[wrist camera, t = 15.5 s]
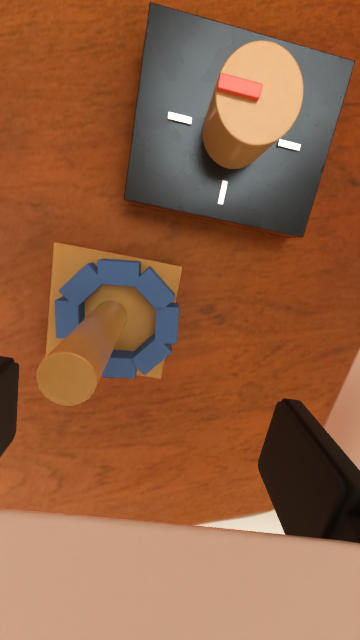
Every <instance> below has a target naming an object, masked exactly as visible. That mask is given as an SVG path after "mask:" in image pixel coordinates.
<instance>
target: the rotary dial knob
mask: <svg viewBox="0 0 360 640" xmlns="http://www.w3.org/2000/svg"><path fill="white" fill-rule="evenodd" d="M302 101H303V79H302V75H301V71H300V69H299V66H298V64H297V62H296V60H295V59H294V57H293V56H292V55H291V54H290V53H289V52H288V51H287V50H286V49H285V48H284V47H282V46H281V45H279V44H277V43H274V42H271V41H264V40H259V41H253V42H250V43H247V44H245V45H243V46H241V47H240V48H238V49H237V50H236V51H234V52H233V53H232V54H231V55H230V57H229V58H228V59H227V60H226V62H225V63H224V65H223V67H222V69H221V71H220V73H219V76H218V79H217V82H216V85H215V88H214V91H213V94H212V97H211V100H210V103H209V106H208V109H207V112H206V115H205V119H204V122H203V129H202V135H203V142H204V145H205V148H206V150H207V152H208V154H209V156H210V157H211V158H212V159H213V160H214V161H215V162H216V163H217V164H219V165H220V166H223V167H225V168H229V169H240V168H244V167H246V166H248V165H250V164H252V163H253V162H254V161H255V160H257V159H258V158H259V157H260V156H261V155H262V154H263V153H265V152H266V151H267V150H268V149H269V148H270V147H271V146H272V145H274V144H275V143H276V142H277V141H278V140H279V139H280V138H282V137H283V136H284V135H285V134H286V133H287V132H288V131H289V130H290V128H291V127H292V126H293V124H294V123H295V121H296V119H297V117H298V115H299V112H300V109H301V106H302Z"/></svg>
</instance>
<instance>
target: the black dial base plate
mask: <svg viewBox="0 0 360 640" xmlns="http://www.w3.org/2000/svg"><path fill="white" fill-rule="evenodd" d="M259 40H264V41H271V42H274V43H277V44H279V45H281V46H282V47H284V48H285V49H286V50H287V51H288V52H289V53H290V54H291V55H292V56H293V57H294V59H295V60H296V62H297V64H298V66H299V69H300V71H301V75H302V79H303V101H302V106H301V109H300V112H299V115H298V117H297V119H296V121H295V123H294V124H293V126H292V127H291V128H290V130H289V131H288V132H287V133H286V134H285V135H284V136H283V137H282V138H280V139H279V140H278V141H277V142H276V143H275V144H274V145H272V146H271V147H270V148H269V149H268V150H267V151H266V152H265V153H263V154H262V155H261V156H260V157H259V158H258V159H257V160H255V161H254V162H253V163H252V164H250V165H248V166H246V167H244V168H240V169H229V168H225V167H223V166H220V165H219V164H217V163H216V162H215V161H214V160H213V159H212V158H211V157H210V156H209V154H208V152H207V150H206V148H205V145H204V142H203V135H202V129H203V122H204V119H205V115H206V112H207V109H208V106H209V103H210V100H211V97H212V94H213V91H214V88H215V85H216V82H217V79H218V76H219V73H220V71H221V69H222V67H223V65H224V63H225V62H226V60H227V59H228V58H229V57H230V55H231V54H232V53H233V52H234V51H236V50H237V49H238V48H240V47H241V46H243V45H245V44H247V43H250V42H253V41H259ZM354 63H355V61H354V60H350V59H347V58H343V57H340V56H336V55H333V54H329V53H326V52H322V51H319V50H315V49H312V48H308V47H305V46H302V45H298V44H295V43H291V42H288V41H284V40H281V39H277V38H274V37H270V36H267V35H263V34H260V33H256V32H253V31H249V30H246V29H242V28H239V27H235V26H232V25H228V24H225V23H221V22H218V21H214V20H211V19H207V18H204V17H200V16H197V15H193V14H190V13H186V12H183V11H179V10H176V9H172V8H169V7H165V6H162V5H159V4H155V3H152V2H150V4H149V12H148V19H147V27H146V35H145V42H144V50H143V58H142V65H141V73H140V81H139V88H138V96H137V104H136V111H135V119H134V127H133V134H132V142H131V149H130V157H129V165H128V172H127V180H126V188H125V195H124V200H125V201H126V202H127V203H128V204H129V205H134V206H139V207H143V208H148V209H153V210H158V211H162V212H167V213H172V214H177V215H181V216H186V217H191V218H196V219H200V220H205V221H210V222H215V223H219V224H224V225H229V226H234V227H238V228H243V229H248V230H253V231H257V232H262V233H267V234H272V235H276V236H281V237H286V238H299V237H303V236H304V233H305V229H306V226H307V223H308V219H309V216H310V212H311V209H312V206H313V202H314V199H315V195H316V192H317V189H318V185H319V182H320V178H321V175H322V172H323V168H324V165H325V161H326V158H327V155H328V151H329V148H330V144H331V141H332V138H333V134H334V131H335V128H336V124H337V121H338V117H339V114H340V111H341V107H342V104H343V100H344V97H345V94H346V90H347V87H348V83H349V80H350V77H351V73H352V70H353V66H354Z"/></svg>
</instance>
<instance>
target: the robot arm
mask: <svg viewBox="0 0 360 640" xmlns="http://www.w3.org/2000/svg"><path fill="white" fill-rule="evenodd" d="M18 379H19V365H18V363H14V359H13V358H9V357H2V356H0V457H1V455H2V454H3V453H4V451H5V450H6V449H7V447H8V446H9V445H10V443H11V442H12V440H13V439H14V436H15V433H16V421H17V400H18ZM258 468H259V472H260V474H261V477H262V479H263V482H264V484H265V486H266V489H267V491H268V494H269V496H270V499H271V501H272V503H273V506H274V508H275V511H276V513H277V516H278V518H279V520H280V523H281V525H282V527H283V530H284V533H285V535H282V534H272V533H262V532H252V531H242V530H233V529H223V528H213V527H203V526H193V525H182V524H172V523H162V522H151V521H141V520H130V519H120V518H109V517H98V516H88V515H76V514H65V513H54V512H43V511H31V510H20V509H9V508H0V640H360V470H359V469H358V468H357V467H356V466H355V464H354V463H353V462H352V461H351V460H350V459H349V458H348V456H347V455H346V454H345V453H344V452H343V450H342V449H341V448H340V447H339V446H338V445H337V443H336V442H335V441H334V440H333V439H332V438H331V436H330V435H329V434H328V433H327V432H326V431H325V429H324V428H323V427H322V426H321V425H320V423H319V422H318V421H317V420H316V419H315V417H314V416H313V415H312V414H311V413H310V412H309V410H308V409H307V408H306V407H305V406H304V405H303V403H302V402H301V401H299V400H292V399H285V398H284V399H282V401H281V402H278V403H277V404H276V407H275V410H274V413H273V416H272V420H271V423H270V426H269V429H268V432H267V435H266V438H265V442H264V445H263V448H262V451H261V454H260V457H259V461H258Z"/></svg>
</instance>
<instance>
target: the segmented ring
mask: <svg viewBox="0 0 360 640" xmlns="http://www.w3.org/2000/svg"><path fill="white" fill-rule="evenodd" d="M102 285H117V286H132V287H135V288H136V289H137V290H138V291H139V292H140V293H141V294H142V295H143V296H144V298H145V299H146V300H147V301H148V302H149V303H150V304H151V305H152V306H153V307H154V308H155V309H156V320H155V334H153V335H152V336H151V337H150V338H149V339H147V340H146V341H145V342H144V343H143V344H142V345H140V346H139V347H138V348H137V349H136V350H135V351H128V350H113V352H112V355H111V357H110V359H109V361H108V363H107V365H106V368H105V370H104V372H103V374H102V376H101V377H108V378H132V379H134V378H135V377H136V372H137V369H138V370H139V371H140V372H141V373H142V374H143V375H146V374H147V373H148V372H150V371H151V370H152V369H153V368H154V367H156V366H157V365H158V364H159V363H160V362H162V361H163V360H164V359H165V358H166V357H168V356H169V355H170V354H171V353H172V348H171V344H177V333H178V320H179V305H178V303H171V302H172V301H173V300H174V299H175V298H176V297H175V293H174V292H173V291H172V290H171V289H170V287H169V286H168V285H167V284H166V283H165V282H164V281H163V280H162V278H161V277H160V276H159V275H158V274H157V273H156V272H155V270H154V269H153V268H152V267H151V266H150V267H148V268H147V269H146V270H145V271H144V272H143V273H142V274H141V261H132V260H118V259H100V260H98V261H97V266H96V265H95V264H94V263H93V262H91V263H88V264H86V265H85V266H84V267H83V268H82V269H80V270H79V271H78V272H77V273H76V274H75V275H74V276H73V277H72V278H71V279H70V280H69V281H68V282H67V283H66V284H65V285H63V286H62V287H61V288H60V289H59V290H58V291H59V292H60V293H61V294H62V295H63V296H62V297H60V298H58V299H57V300H55V301H54V302H55V323H56V338H64V339H65V338H66V337H67V336H68V335H69V334H70V333H71V332H72V331H73V330H74V329H75V328H76V327H77V326H78V325H79V324H80V323H81V322H82V321H83V320H84V319H85V300H86V299H88V298H89V297H90V296H91V295H92V294H93V293H94V292H95V291H96V290H97V289H98V288H100V287H101V286H102Z"/></svg>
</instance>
